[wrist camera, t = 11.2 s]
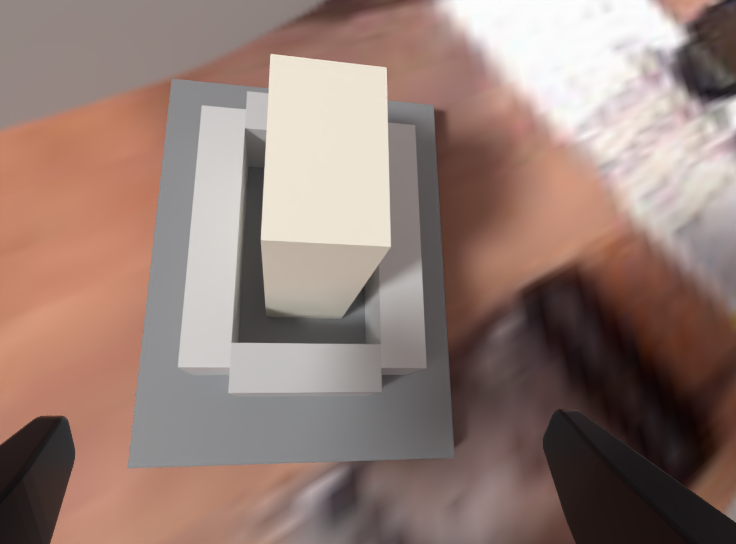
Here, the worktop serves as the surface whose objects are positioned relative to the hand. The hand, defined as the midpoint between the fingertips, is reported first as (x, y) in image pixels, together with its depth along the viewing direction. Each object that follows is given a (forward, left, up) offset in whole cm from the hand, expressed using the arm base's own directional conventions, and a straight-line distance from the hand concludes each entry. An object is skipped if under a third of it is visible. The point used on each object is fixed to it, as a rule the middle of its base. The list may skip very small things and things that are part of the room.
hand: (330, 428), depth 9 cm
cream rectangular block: (+6, -2, -10) cm, 12 cm away
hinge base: (+6, -2, -11) cm, 13 cm away
